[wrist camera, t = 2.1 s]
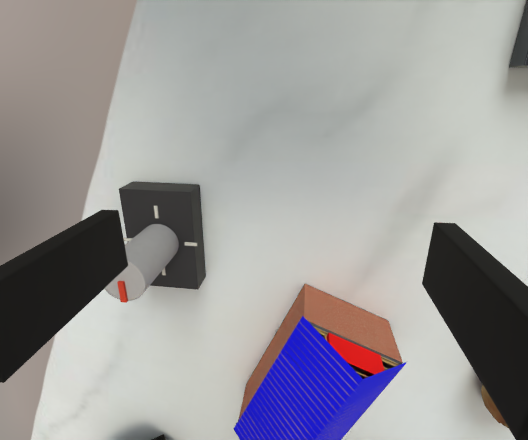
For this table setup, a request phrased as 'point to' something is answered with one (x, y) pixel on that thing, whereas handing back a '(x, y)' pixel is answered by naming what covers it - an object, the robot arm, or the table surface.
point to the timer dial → (144, 261)
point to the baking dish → (159, 438)
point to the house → (318, 371)
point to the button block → (521, 43)
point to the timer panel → (169, 226)
